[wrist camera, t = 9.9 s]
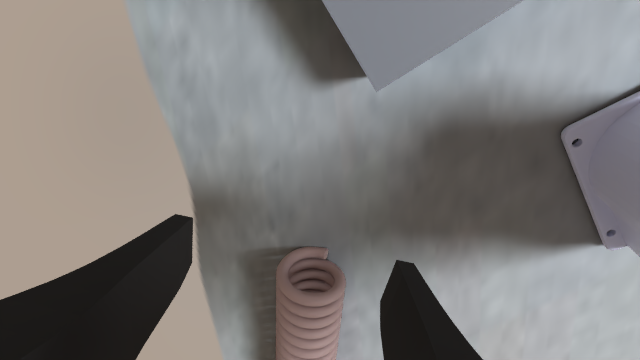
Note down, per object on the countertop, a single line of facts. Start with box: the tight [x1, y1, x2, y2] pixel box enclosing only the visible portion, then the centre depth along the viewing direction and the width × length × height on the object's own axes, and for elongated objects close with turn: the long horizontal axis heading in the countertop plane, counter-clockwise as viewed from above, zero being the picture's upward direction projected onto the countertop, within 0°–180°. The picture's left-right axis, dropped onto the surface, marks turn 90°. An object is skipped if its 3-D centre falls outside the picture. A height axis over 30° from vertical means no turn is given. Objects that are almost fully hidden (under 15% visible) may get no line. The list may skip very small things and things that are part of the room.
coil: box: [276, 247, 346, 360], centre depth 27 cm, size 5×5×18 cm
